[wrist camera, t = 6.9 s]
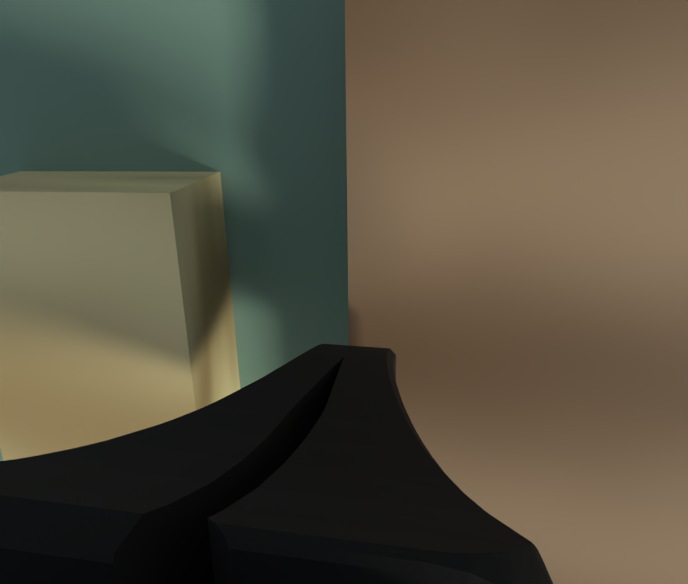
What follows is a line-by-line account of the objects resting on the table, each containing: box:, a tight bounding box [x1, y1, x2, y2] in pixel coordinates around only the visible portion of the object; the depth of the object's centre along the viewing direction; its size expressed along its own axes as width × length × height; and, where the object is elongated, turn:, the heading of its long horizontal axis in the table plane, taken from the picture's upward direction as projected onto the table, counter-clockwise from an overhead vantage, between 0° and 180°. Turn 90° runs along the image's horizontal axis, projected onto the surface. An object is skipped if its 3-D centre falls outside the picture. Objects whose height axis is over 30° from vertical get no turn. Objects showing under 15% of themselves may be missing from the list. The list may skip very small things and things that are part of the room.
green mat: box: [0, 0, 349, 461], centre depth 16 cm, size 16×12×1 cm
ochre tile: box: [0, 171, 240, 461], centre depth 15 cm, size 7×5×2 cm
